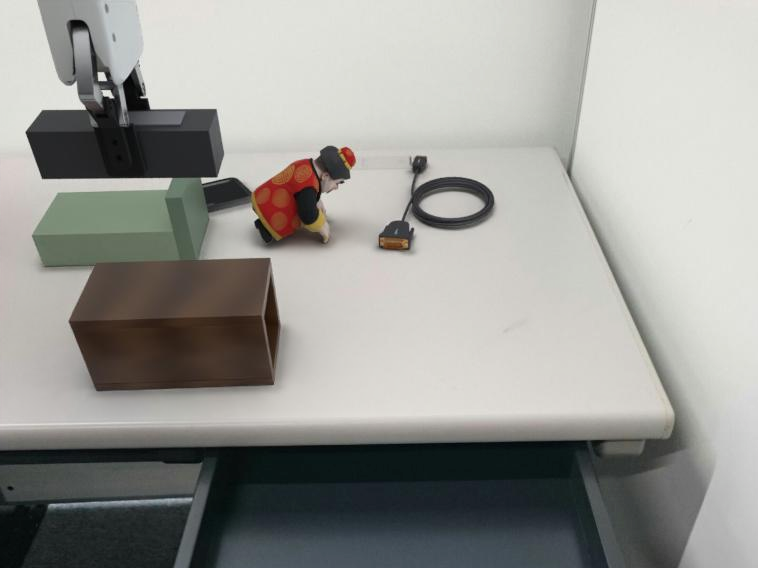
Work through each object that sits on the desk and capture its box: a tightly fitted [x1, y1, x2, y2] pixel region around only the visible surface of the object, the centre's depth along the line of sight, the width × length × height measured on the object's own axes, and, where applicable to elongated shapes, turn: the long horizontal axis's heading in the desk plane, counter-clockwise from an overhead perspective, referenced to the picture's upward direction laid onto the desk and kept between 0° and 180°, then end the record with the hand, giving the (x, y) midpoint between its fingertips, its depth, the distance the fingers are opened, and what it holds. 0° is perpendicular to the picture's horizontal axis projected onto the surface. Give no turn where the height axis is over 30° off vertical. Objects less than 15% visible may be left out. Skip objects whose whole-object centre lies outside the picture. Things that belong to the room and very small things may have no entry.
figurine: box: [251, 145, 357, 245], centre depth 93 cm, size 10×10×15 cm
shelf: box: [68, 257, 282, 392], centre depth 74 cm, size 18×11×8 cm, turn 93°
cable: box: [378, 154, 496, 250], centre depth 100 cm, size 14×28×2 cm, turn 169°
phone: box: [202, 176, 253, 214], centre depth 102 cm, size 8×1×15 cm
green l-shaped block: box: [31, 178, 210, 267], centre depth 92 cm, size 19×12×8 cm, turn 93°
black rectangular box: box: [25, 108, 225, 180], centre depth 63 cm, size 15×5×4 cm, turn 92°
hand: (133, 159), depth 64 cm, fingers closed on black rectangular box, 5 cm apart
